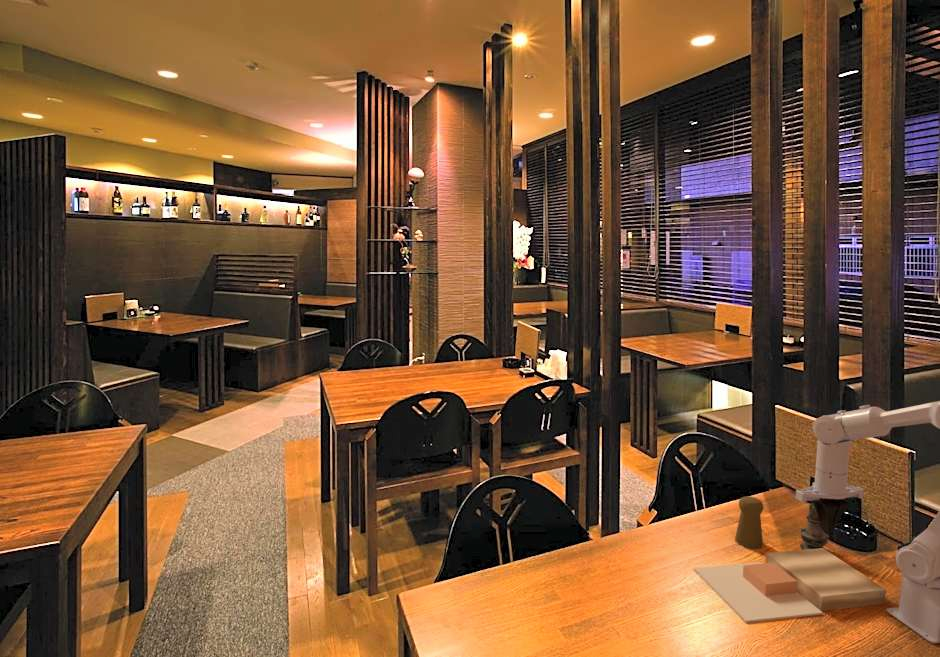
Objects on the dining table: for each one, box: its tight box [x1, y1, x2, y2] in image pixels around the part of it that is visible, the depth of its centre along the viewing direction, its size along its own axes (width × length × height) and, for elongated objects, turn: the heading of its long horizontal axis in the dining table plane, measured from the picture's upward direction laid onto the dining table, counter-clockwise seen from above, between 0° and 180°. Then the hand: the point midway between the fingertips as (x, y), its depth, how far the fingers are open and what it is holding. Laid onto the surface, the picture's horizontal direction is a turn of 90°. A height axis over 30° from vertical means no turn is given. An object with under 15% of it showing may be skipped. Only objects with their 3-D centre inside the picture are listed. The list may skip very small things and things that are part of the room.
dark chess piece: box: [799, 503, 830, 550], centre depth 129 cm, size 6×6×12 cm
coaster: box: [743, 562, 797, 596], centre depth 115 cm, size 7×7×2 cm
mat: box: [693, 561, 824, 624], centre depth 113 cm, size 18×16×1 cm
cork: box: [734, 496, 764, 550], centre depth 132 cm, size 6×6×11 cm
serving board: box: [765, 547, 887, 612], centre depth 115 cm, size 16×14×3 cm
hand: (826, 530), depth 119 cm, fingers closed
